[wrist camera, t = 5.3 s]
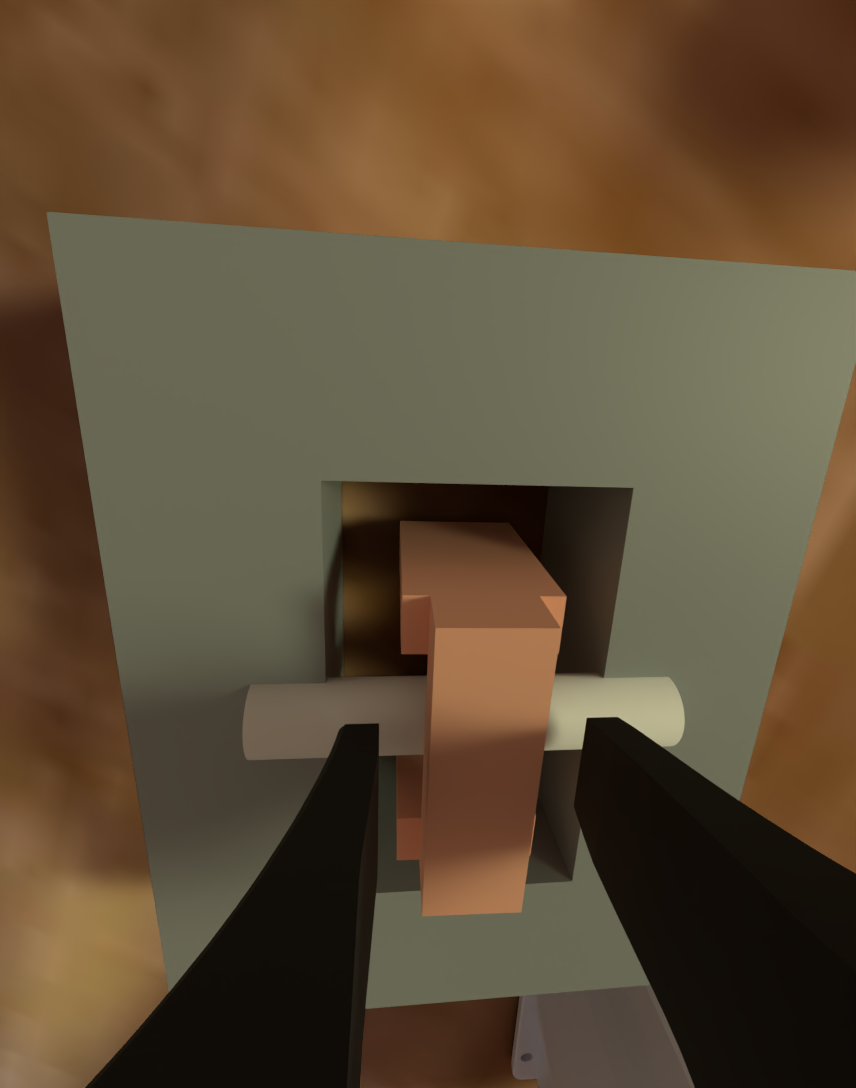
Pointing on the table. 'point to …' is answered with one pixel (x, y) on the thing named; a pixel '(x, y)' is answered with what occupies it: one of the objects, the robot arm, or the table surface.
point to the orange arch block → (475, 710)
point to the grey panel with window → (434, 457)
